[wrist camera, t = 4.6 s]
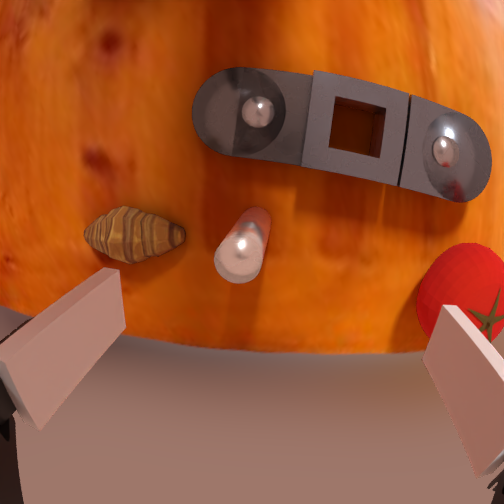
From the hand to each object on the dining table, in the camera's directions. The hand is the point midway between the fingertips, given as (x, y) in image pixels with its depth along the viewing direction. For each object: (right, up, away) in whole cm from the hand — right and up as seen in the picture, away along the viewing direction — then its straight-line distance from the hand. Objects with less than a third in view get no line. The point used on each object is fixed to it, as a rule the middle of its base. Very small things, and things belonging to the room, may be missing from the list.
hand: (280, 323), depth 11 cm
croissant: (-15, +5, +23) cm, 28 cm away
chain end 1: (+3, +16, +17) cm, 23 cm away
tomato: (+23, -1, +20) cm, 30 cm away
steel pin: (-1, +6, +20) cm, 21 cm away
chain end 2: (+14, +14, +16) cm, 25 cm away
